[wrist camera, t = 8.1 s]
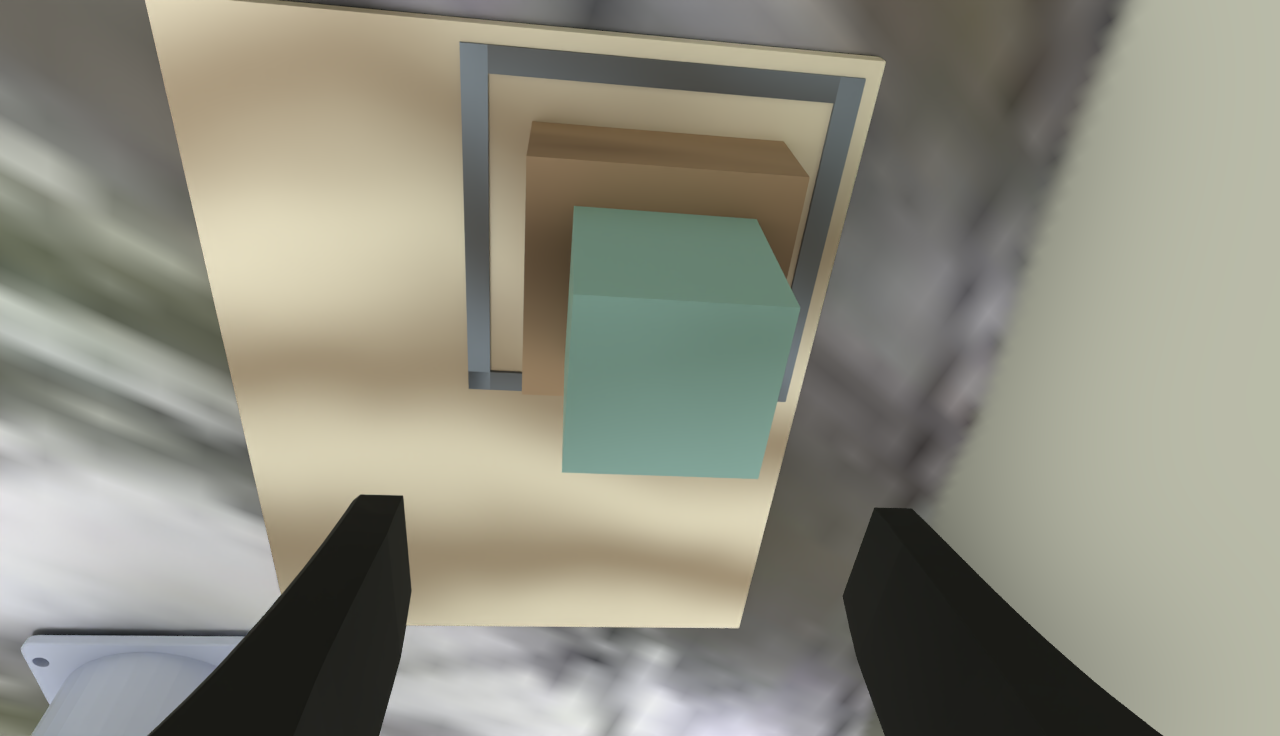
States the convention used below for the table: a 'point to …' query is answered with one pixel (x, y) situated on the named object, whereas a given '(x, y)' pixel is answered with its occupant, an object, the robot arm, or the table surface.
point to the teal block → (672, 344)
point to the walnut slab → (636, 208)
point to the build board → (467, 288)
